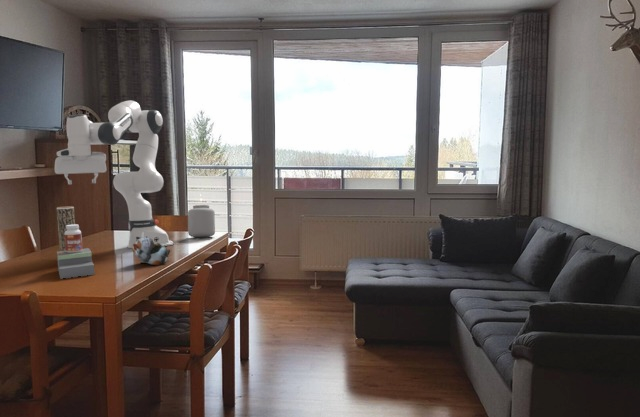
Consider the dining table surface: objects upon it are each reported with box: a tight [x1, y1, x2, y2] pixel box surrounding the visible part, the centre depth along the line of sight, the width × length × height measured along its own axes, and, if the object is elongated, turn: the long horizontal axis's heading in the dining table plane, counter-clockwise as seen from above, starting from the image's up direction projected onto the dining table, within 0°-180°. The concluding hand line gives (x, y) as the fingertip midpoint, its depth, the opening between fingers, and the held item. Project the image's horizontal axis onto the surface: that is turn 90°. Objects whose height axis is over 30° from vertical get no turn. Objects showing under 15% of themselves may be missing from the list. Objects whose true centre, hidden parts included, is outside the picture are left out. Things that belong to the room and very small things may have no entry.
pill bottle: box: [64, 223, 83, 253], centre depth 195 cm, size 6×6×11 cm
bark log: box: [56, 205, 76, 251], centre depth 211 cm, size 7×7×25 cm
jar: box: [187, 194, 216, 238], centre depth 270 cm, size 19×15×25 cm
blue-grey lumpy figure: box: [132, 236, 171, 266], centre depth 207 cm, size 15×12×14 cm
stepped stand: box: [56, 247, 96, 280], centre depth 193 cm, size 12×17×8 cm
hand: (82, 183), depth 207 cm, fingers open, 8 cm apart
